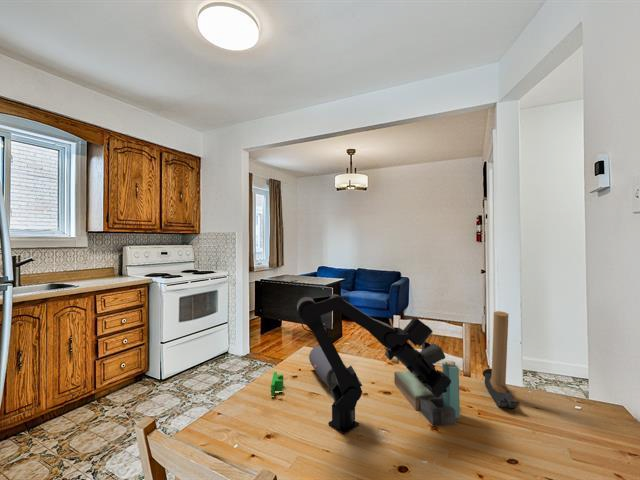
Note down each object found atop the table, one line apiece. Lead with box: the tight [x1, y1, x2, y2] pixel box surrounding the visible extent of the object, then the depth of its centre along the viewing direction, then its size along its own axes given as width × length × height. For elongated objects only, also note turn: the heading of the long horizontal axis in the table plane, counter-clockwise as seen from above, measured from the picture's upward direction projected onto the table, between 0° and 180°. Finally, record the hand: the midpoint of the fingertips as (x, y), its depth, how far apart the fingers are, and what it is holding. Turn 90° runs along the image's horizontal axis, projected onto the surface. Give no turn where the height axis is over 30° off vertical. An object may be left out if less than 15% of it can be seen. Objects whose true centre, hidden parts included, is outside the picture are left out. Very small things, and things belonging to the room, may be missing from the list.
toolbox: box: [394, 370, 457, 427], centre depth 100 cm, size 12×27×6 cm, turn 7°
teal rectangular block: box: [441, 360, 461, 419], centre depth 92 cm, size 3×4×16 cm
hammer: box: [482, 310, 520, 409], centre depth 100 cm, size 20×5×30 cm, turn 166°
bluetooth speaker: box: [308, 345, 337, 390], centre depth 117 cm, size 23×9×10 cm, turn 17°
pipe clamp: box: [270, 371, 284, 397], centre depth 110 cm, size 11×4×5 cm, turn 4°
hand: (445, 391), depth 91 cm, fingers closed, pressing on teal rectangular block
